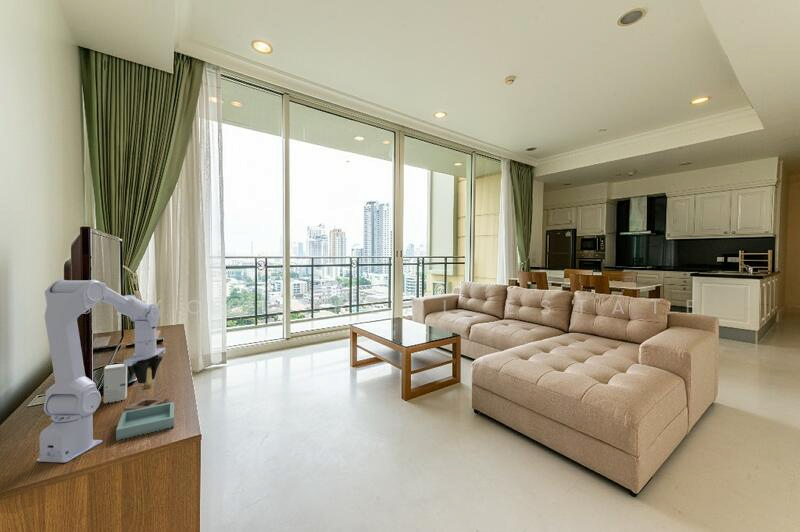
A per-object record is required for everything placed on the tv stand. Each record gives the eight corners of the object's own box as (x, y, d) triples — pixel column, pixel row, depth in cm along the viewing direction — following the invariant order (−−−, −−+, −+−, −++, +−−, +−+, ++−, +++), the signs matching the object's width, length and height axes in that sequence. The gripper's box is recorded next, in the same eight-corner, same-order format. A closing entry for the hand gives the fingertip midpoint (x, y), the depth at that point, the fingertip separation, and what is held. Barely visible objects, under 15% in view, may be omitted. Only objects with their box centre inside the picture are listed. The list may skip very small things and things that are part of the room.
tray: (173, 427, 99) (173, 417, 99) (116, 440, 91) (116, 430, 91) (174, 410, 109) (174, 401, 109) (122, 421, 102) (122, 411, 102)
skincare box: (103, 404, 115) (102, 368, 114) (105, 399, 119) (105, 365, 118) (126, 399, 118) (125, 365, 118) (128, 395, 122) (127, 362, 122)
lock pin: (147, 390, 110) (146, 368, 110) (138, 389, 111) (138, 368, 110) (154, 386, 113) (154, 366, 113) (146, 386, 114) (145, 365, 113)
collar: (148, 413, 108) (148, 408, 108) (123, 412, 108) (123, 408, 108) (168, 402, 116) (168, 398, 116) (145, 401, 117) (145, 397, 117)
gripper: (152, 335, 119) (152, 373, 119) (114, 345, 105) (115, 389, 105) (170, 335, 119) (171, 373, 119) (135, 346, 104) (136, 389, 104)
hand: (146, 381), depth 112 cm, fingers closed on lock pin, 3 cm apart
